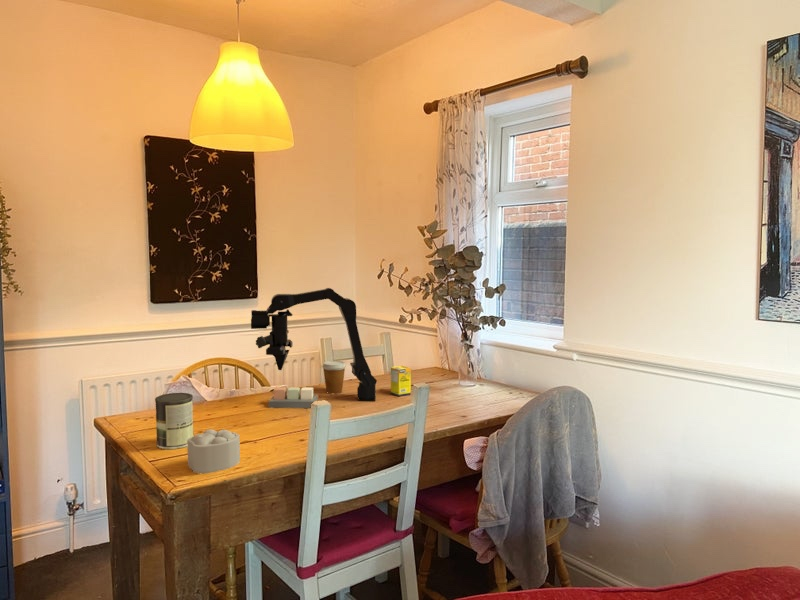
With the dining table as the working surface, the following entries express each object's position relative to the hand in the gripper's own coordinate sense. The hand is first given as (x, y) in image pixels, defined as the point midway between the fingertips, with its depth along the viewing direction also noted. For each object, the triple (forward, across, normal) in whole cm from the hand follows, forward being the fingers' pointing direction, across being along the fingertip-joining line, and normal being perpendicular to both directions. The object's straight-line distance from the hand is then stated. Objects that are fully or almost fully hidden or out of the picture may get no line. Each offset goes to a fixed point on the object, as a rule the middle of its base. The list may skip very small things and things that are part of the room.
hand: (280, 369), depth 210 cm
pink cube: (+11, 0, 0) cm, 11 cm away
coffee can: (+13, +44, -22) cm, 51 cm away
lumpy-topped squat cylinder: (+13, +60, -5) cm, 62 cm away
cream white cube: (+11, 0, +10) cm, 15 cm away
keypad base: (+13, 0, +5) cm, 14 cm away
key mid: (+11, 0, +5) cm, 12 cm away
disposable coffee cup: (+13, -19, +18) cm, 29 cm away
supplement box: (+13, -16, +45) cm, 50 cm away
